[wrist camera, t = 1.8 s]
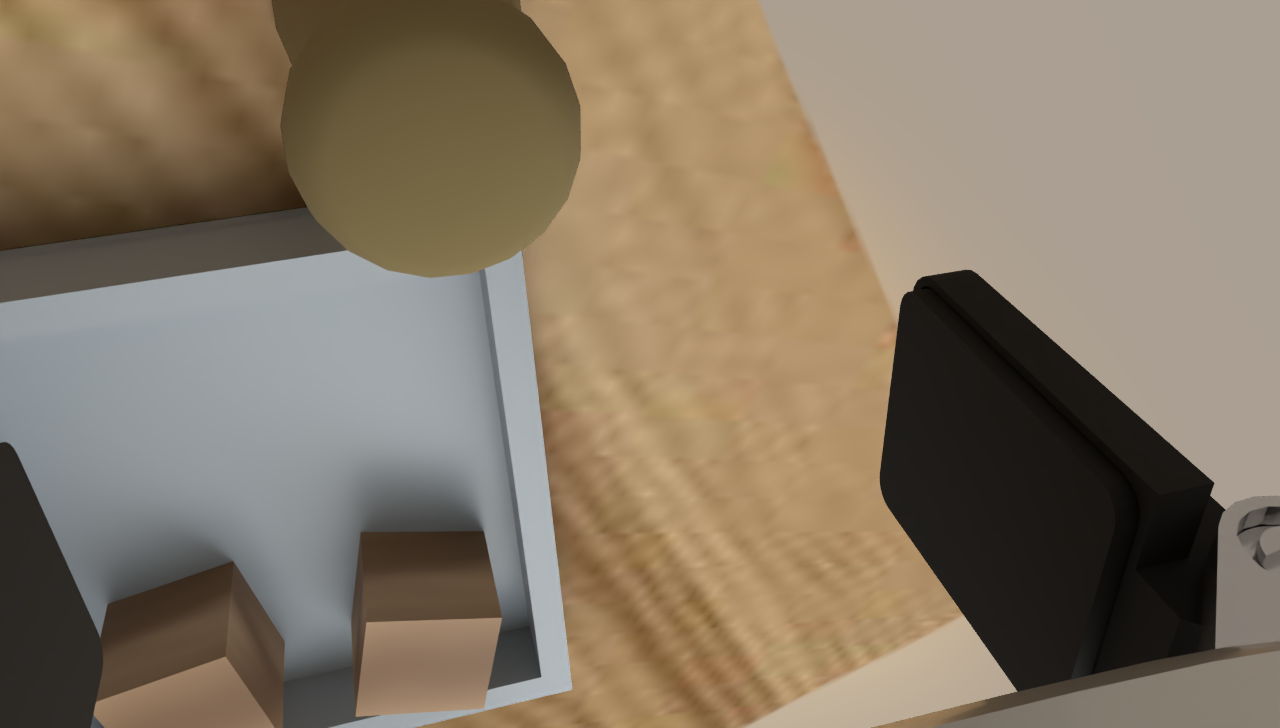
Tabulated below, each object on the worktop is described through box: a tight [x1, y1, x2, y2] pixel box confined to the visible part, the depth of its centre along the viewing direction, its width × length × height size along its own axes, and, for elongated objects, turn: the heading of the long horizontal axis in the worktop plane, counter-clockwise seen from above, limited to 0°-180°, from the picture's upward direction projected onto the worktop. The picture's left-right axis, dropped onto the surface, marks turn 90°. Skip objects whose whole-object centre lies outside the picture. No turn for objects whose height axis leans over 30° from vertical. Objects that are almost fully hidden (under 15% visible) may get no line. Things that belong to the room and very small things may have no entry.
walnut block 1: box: [93, 561, 285, 728], centre depth 32 cm, size 4×4×4 cm
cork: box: [272, 0, 581, 278], centre depth 22 cm, size 6×6×11 cm
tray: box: [0, 207, 572, 728], centre depth 31 cm, size 18×16×3 cm
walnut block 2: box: [351, 531, 502, 717], centre depth 34 cm, size 4×4×4 cm
